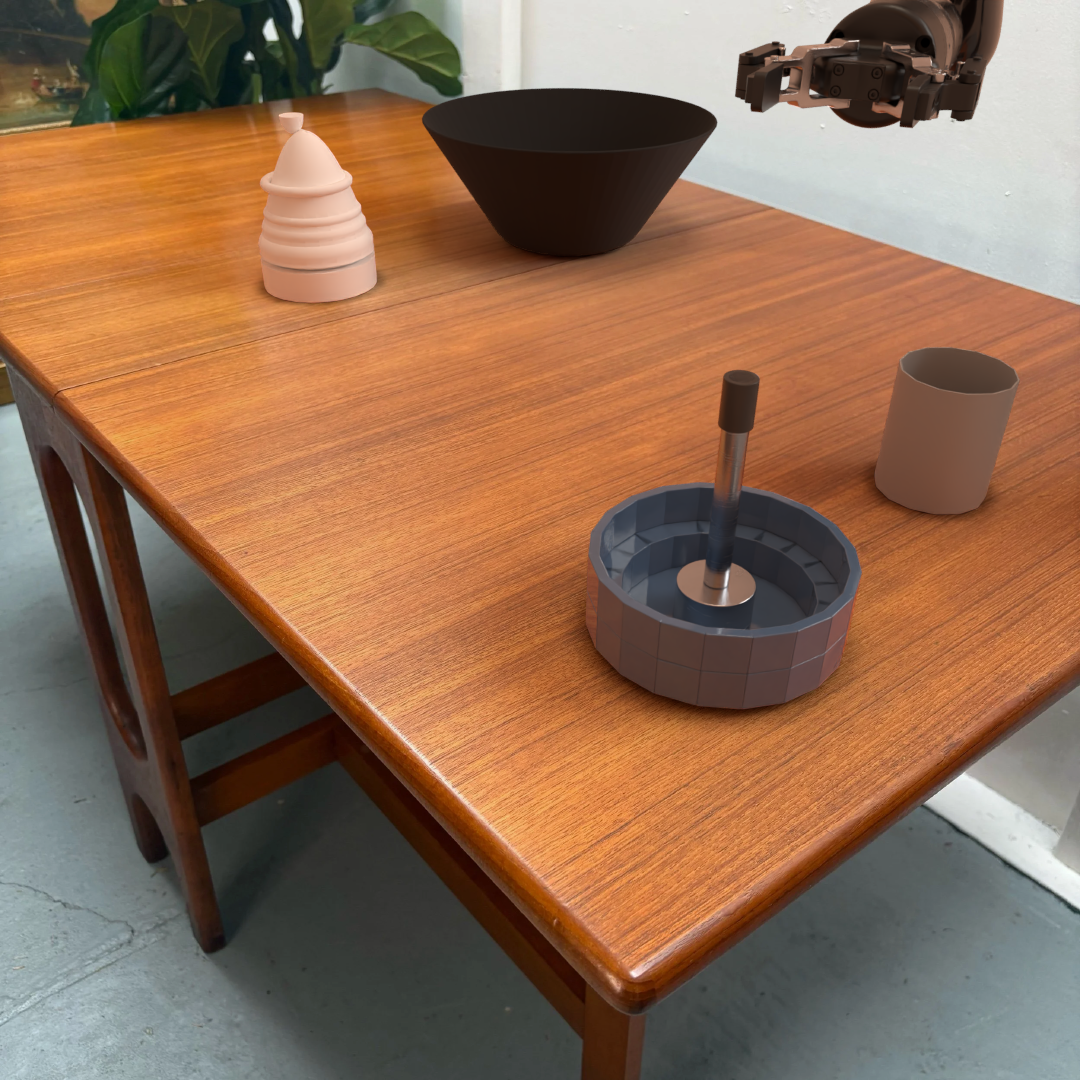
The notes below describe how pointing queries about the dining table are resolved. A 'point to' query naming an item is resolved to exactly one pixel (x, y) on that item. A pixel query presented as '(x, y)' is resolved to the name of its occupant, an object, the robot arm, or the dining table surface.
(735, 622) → the metal rod on disc
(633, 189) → the bowl
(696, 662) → the bowl
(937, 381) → the cup
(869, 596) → the dining table surface
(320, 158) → the honey pot
